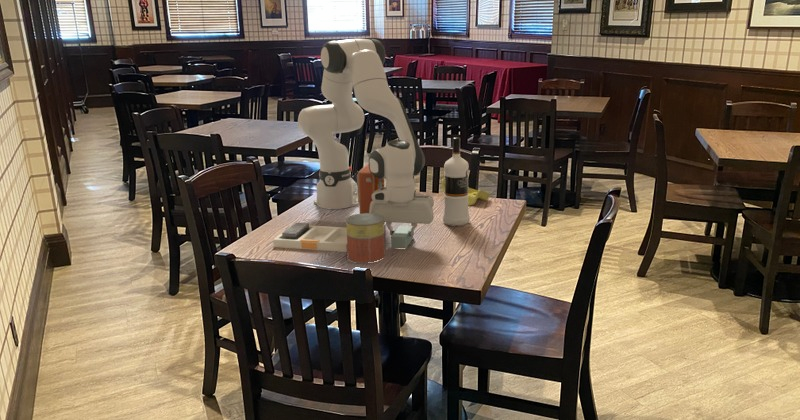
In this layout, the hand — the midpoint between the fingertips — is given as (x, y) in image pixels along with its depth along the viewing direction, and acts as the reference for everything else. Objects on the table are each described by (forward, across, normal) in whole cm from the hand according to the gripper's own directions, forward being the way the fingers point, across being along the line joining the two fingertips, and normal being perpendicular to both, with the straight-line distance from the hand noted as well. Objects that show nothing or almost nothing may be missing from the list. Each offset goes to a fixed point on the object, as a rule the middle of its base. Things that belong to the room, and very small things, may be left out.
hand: (401, 235), depth 191 cm
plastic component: (+3, -12, -55) cm, 57 cm away
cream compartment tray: (+2, +27, +4) cm, 27 cm away
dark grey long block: (+2, +34, +4) cm, 35 cm away
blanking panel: (+3, 0, 0) cm, 3 cm away
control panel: (+3, +14, -12) cm, 18 cm away
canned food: (+3, +8, +13) cm, 16 cm away
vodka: (+3, -14, -24) cm, 28 cm away
